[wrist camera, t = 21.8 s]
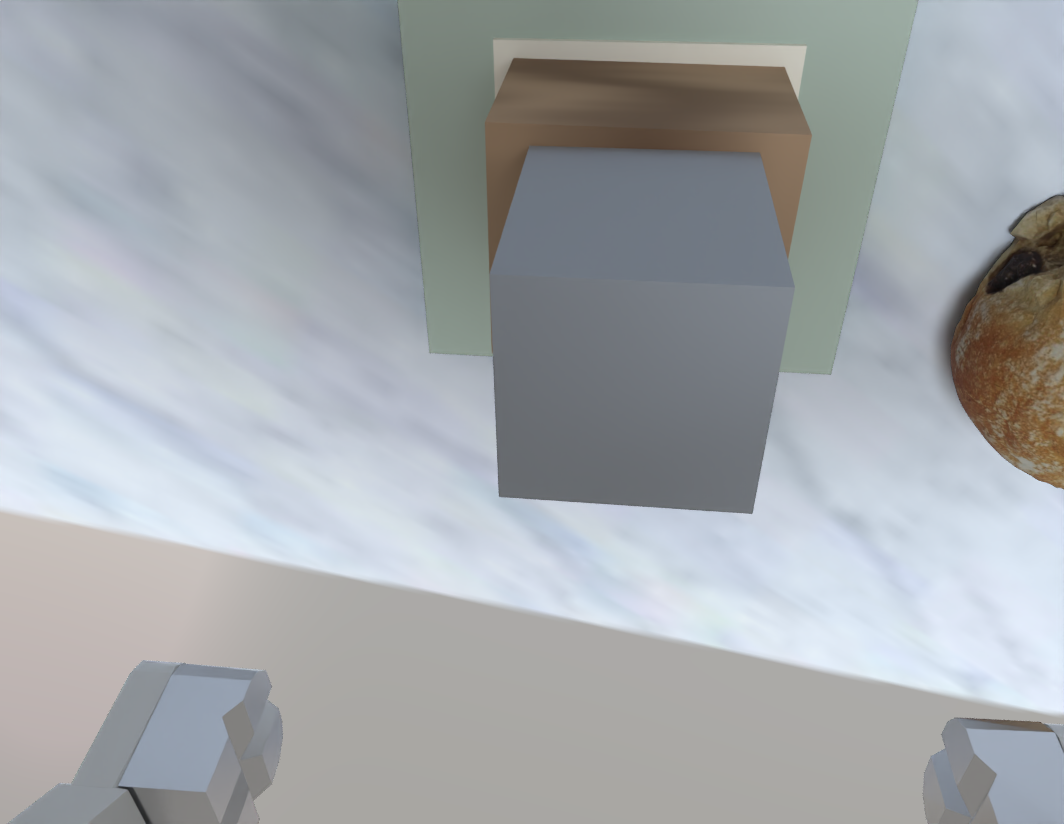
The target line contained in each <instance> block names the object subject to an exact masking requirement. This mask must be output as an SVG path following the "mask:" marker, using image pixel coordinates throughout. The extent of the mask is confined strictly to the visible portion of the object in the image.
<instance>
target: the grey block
mask: <svg viewBox="0 0 1064 824" xmlns="http://www.w3.org/2000/svg"><path fill="white" fill-rule="evenodd" d="M489 275H490V298H491V322H492V345H493V369H494V392H495V415H496V439H497V462H498V486H499V497H509V498H524V499H539V500H554V501H569V502H584V503H599V504H614V505H628V506H643V507H658V508H673V509H688V510H703V511H718V512H733V513H748V514H752V513H753V508H754V502H755V497H756V492H757V487H758V481H759V476H760V471H761V465H762V460H763V455H764V449H765V444H766V439H767V434H768V428H769V423H770V418H771V412H772V407H773V402H774V397H775V391H776V386H777V381H778V375H779V370H780V365H781V359H782V354H783V349H784V344H785V338H786V333H787V328H788V322H789V317H790V312H791V307H792V301H793V296H794V291H795V285H794V281H793V278H792V274H791V270H790V266H789V262H788V258H787V255H786V251H785V247H784V243H783V239H782V235H781V231H780V228H779V224H778V220H777V216H776V212H775V208H774V204H773V201H772V197H771V193H770V189H769V185H768V181H767V177H766V174H765V170H764V166H763V162H762V158H761V154H760V153H759V152H726V151H692V150H659V149H626V148H592V147H559V146H529V149H528V152H527V155H526V158H525V161H524V165H523V168H522V171H521V174H520V177H519V181H518V184H517V187H516V190H515V194H514V197H513V200H512V203H511V206H510V210H509V213H508V216H507V219H506V223H505V226H504V229H503V232H502V235H501V239H500V242H499V245H498V248H497V252H496V255H495V258H494V261H493V264H492V268H491V271H490V274H489Z"/></svg>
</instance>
